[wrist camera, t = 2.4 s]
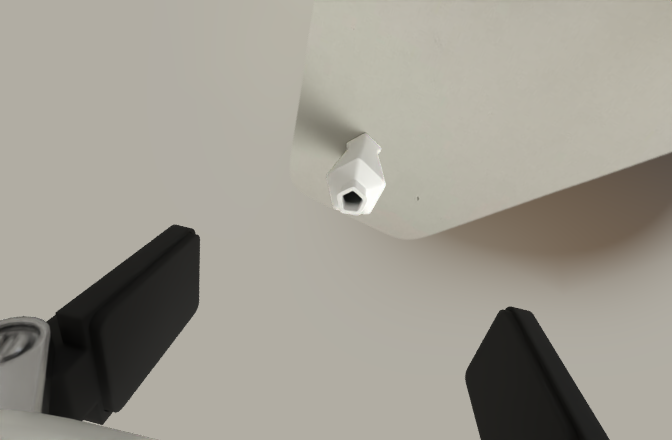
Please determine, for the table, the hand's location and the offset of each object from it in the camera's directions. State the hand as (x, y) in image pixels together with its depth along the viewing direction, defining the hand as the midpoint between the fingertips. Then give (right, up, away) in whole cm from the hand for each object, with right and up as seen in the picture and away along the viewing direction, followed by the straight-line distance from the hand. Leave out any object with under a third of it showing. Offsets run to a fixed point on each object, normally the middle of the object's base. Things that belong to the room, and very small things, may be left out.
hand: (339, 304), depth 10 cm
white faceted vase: (+3, +10, +26) cm, 28 cm away
